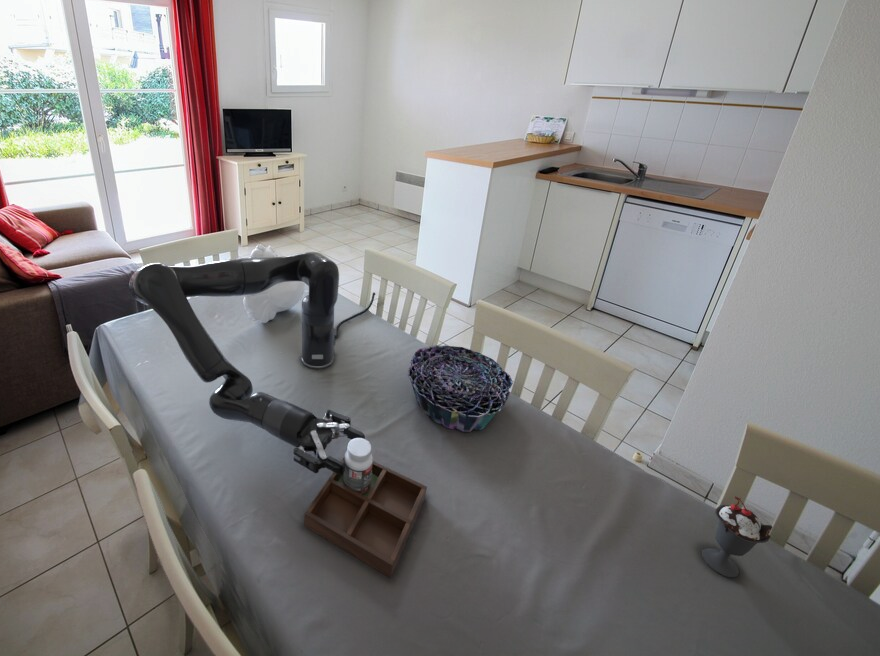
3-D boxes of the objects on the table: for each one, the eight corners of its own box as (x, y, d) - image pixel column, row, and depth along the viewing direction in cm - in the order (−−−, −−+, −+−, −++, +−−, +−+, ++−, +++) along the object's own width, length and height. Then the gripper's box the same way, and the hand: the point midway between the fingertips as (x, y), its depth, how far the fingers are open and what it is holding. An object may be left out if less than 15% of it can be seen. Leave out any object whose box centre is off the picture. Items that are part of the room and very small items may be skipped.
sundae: (685, 545, 78) (715, 485, 72) (719, 542, 78) (751, 483, 73) (719, 584, 72) (754, 523, 66) (755, 581, 72) (794, 520, 67)
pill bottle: (369, 498, 85) (372, 461, 81) (340, 492, 86) (342, 455, 82) (372, 474, 90) (375, 438, 86) (345, 469, 91) (347, 433, 87)
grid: (348, 460, 94) (349, 449, 93) (425, 498, 86) (427, 486, 84) (304, 526, 80) (304, 513, 79) (390, 578, 72) (392, 565, 70)
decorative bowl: (504, 387, 120) (510, 356, 117) (510, 456, 95) (518, 419, 92) (413, 367, 128) (416, 337, 125) (396, 426, 103) (400, 391, 100)
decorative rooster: (289, 275, 166) (249, 234, 151) (317, 280, 155) (277, 237, 140) (254, 330, 157) (207, 293, 142) (282, 340, 146) (234, 301, 131)
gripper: (267, 430, 86) (337, 465, 79) (306, 389, 97) (371, 417, 90) (268, 457, 89) (336, 494, 81) (306, 415, 100) (369, 444, 93)
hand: (354, 453), depth 86 cm, fingers open, 8 cm apart
